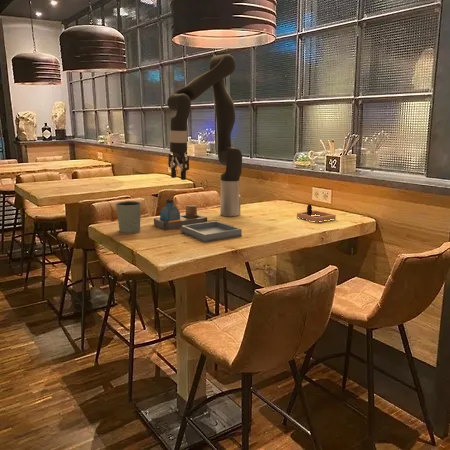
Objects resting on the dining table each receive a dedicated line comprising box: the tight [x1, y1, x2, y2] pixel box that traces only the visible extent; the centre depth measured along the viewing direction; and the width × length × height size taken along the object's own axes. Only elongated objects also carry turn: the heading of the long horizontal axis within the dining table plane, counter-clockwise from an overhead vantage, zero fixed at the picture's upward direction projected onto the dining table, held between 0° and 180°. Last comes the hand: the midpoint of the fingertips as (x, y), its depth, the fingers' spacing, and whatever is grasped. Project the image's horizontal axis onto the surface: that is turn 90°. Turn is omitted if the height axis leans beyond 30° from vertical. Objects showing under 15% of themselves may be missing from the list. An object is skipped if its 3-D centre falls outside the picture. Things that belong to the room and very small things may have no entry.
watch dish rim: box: [296, 209, 337, 222], centre depth 224 cm, size 13×13×2 cm
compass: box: [306, 203, 321, 217], centre depth 224 cm, size 8×8×7 cm
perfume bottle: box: [159, 198, 181, 222], centre depth 203 cm, size 6×6×12 cm
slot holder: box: [153, 213, 208, 231], centre depth 207 cm, size 22×10×3 cm, turn 126°
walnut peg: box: [185, 204, 198, 219], centre depth 210 cm, size 5×5×8 cm
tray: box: [180, 220, 243, 243], centre depth 191 cm, size 18×18×3 cm
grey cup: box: [115, 200, 142, 235], centre depth 193 cm, size 10×10×12 cm
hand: (178, 178), depth 204 cm, fingers open, 8 cm apart
